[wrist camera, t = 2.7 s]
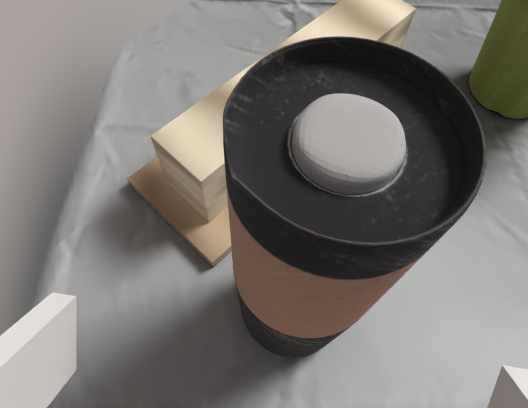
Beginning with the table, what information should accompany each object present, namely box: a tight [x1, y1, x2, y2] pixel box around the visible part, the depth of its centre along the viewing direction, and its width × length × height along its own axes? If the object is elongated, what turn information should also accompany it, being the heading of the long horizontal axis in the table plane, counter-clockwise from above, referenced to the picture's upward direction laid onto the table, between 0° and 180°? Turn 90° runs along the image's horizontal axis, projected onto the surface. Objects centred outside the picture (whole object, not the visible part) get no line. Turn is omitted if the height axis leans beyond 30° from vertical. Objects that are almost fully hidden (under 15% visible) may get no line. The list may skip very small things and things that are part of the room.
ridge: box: [127, 0, 416, 267], centre depth 34 cm, size 28×10×7 cm, turn 136°
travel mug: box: [223, 36, 486, 357], centre depth 20 cm, size 8×8×20 cm
